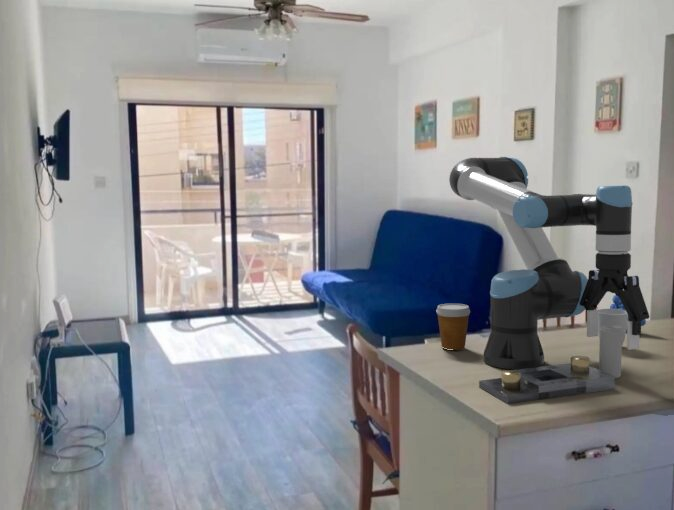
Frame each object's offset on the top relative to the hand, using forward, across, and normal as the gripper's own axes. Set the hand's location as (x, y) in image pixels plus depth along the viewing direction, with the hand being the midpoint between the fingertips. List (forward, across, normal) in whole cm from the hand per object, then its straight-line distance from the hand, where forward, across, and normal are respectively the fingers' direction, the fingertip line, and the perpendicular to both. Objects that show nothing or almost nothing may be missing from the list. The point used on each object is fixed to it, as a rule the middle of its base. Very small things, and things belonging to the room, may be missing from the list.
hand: (611, 342), depth 151 cm
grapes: (+8, +36, -35) cm, 50 cm away
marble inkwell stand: (+8, -2, +19) cm, 21 cm away
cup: (+8, +22, -19) cm, 31 cm away
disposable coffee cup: (+8, +38, +22) cm, 44 cm away
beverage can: (+8, 0, 0) cm, 9 cm away
